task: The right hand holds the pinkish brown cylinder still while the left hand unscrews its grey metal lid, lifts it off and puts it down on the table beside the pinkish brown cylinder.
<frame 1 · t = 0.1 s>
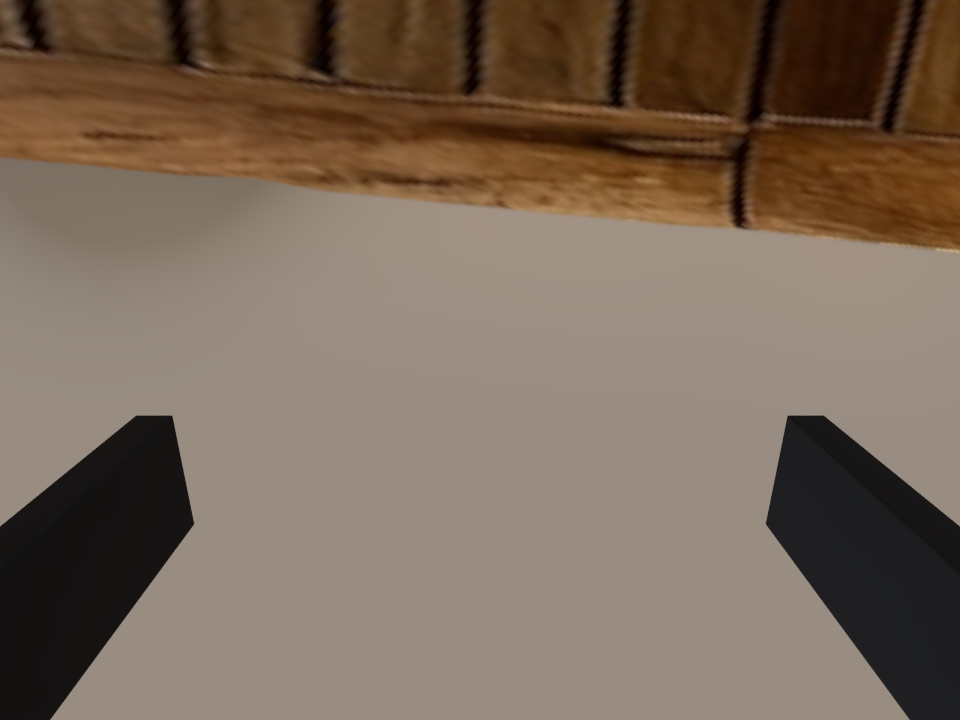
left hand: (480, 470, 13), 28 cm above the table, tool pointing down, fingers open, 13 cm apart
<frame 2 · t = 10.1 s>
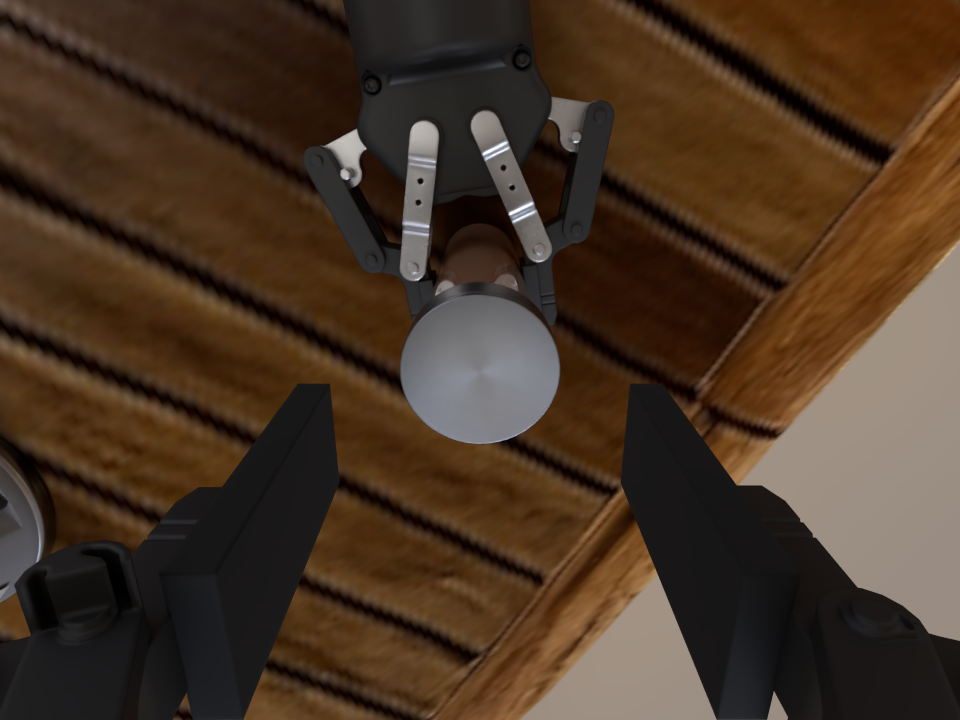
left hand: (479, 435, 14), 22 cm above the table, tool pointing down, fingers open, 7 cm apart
right hand: (488, 339, 30), fingers closed on pinkish brown cylinder, 4 cm apart
pinkish brown cylinder: (480, 259, 35), on the table, touching right hand
lid: (480, 368, 19), point 17 cm above the table, screwed on, not yet turned
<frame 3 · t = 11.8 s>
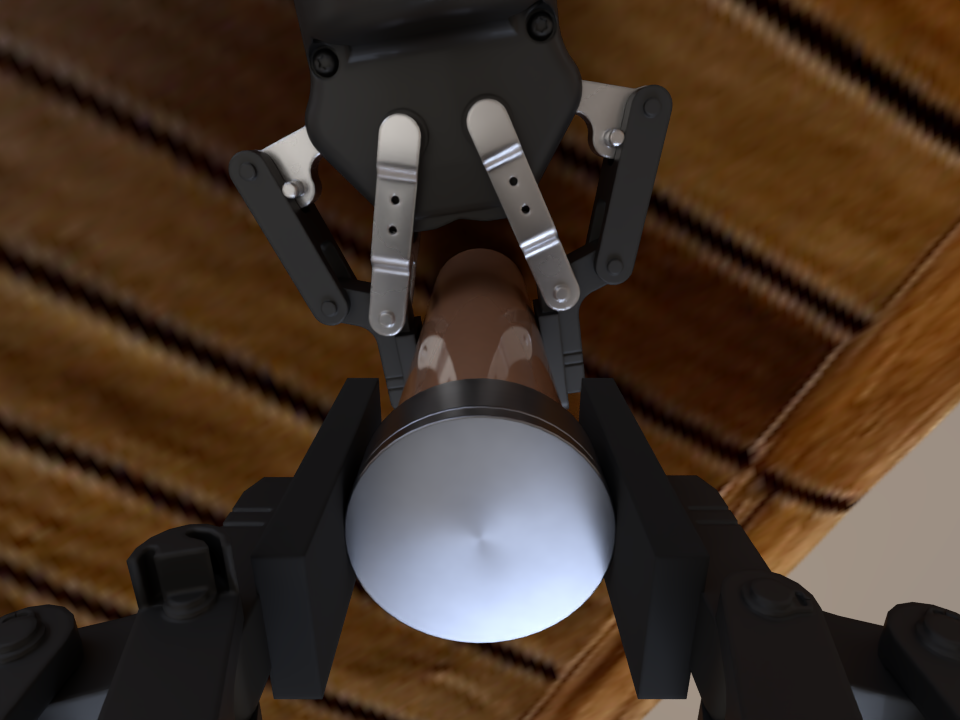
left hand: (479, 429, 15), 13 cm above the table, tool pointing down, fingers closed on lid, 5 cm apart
right hand: (491, 408, 22), fingers closed on pinkish brown cylinder, 4 cm apart
pinkish brown cylinder: (479, 294, 27), on the table, touching right hand
lid: (480, 527, 11), point 17 cm above the table, screwed on, not yet turned, touching left hand
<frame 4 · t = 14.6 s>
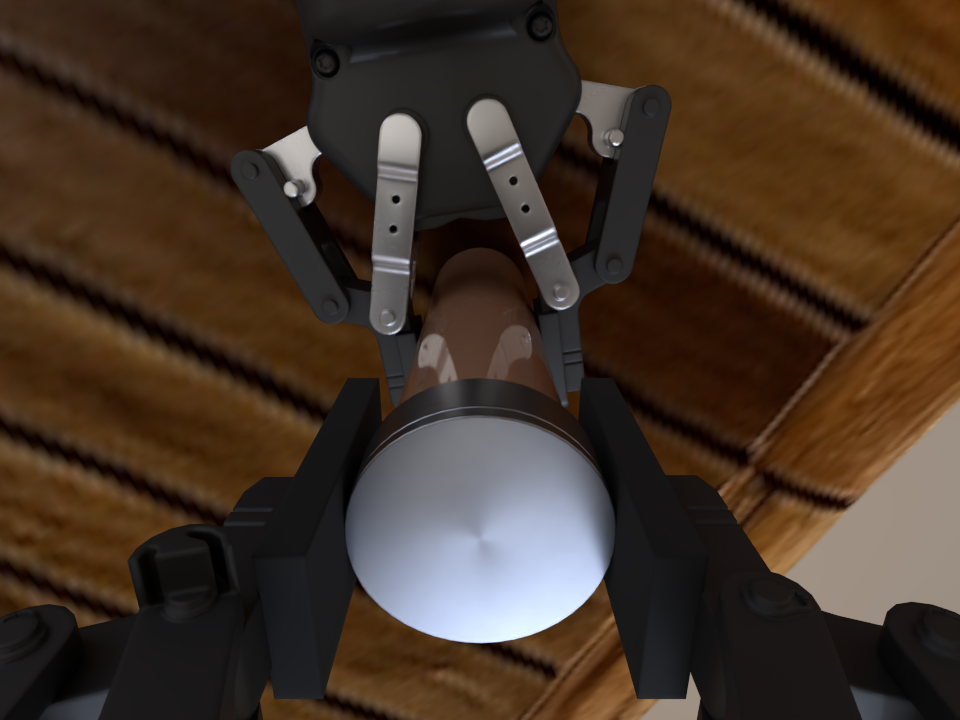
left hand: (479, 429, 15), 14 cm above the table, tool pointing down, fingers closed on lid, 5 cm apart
right hand: (491, 406, 22), fingers closed on pinkish brown cylinder, 4 cm apart
pinkish brown cylinder: (480, 293, 28), on the table, touching right hand
lid: (480, 527, 11), point 18 cm above the table, turned 77° so far, risen 0.1 cm, still on its thread, touching left hand
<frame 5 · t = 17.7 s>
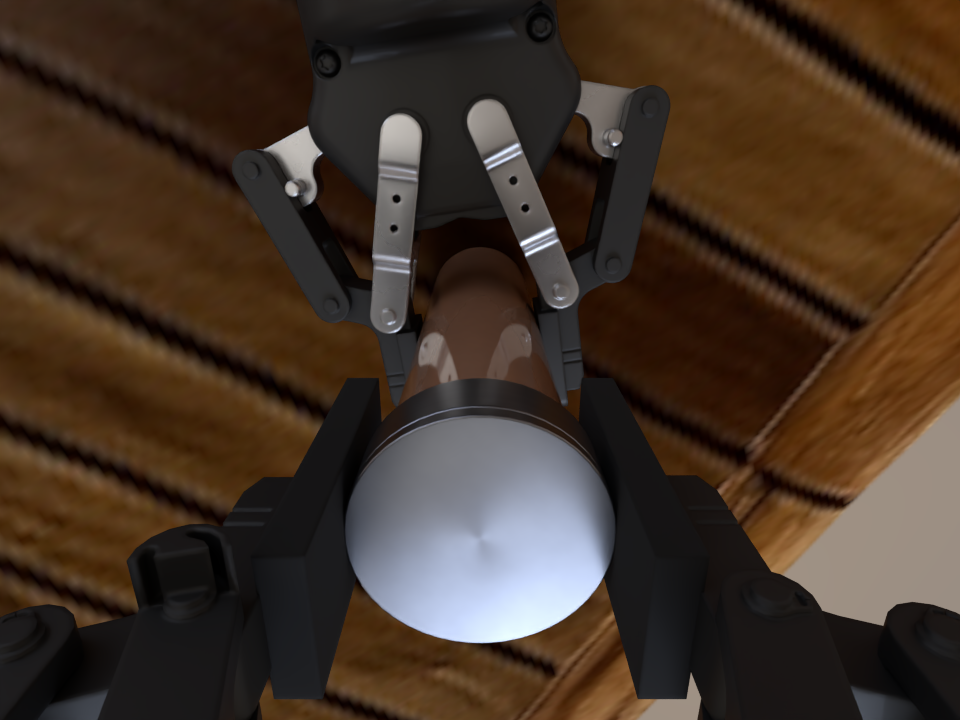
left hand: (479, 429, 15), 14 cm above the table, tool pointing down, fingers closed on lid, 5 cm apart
right hand: (491, 405, 22), fingers closed on pinkish brown cylinder, 4 cm apart
pinkish brown cylinder: (480, 292, 28), on the table, touching right hand
lid: (480, 527, 11), point 18 cm above the table, turned 155° so far, risen 0.3 cm, still on its thread, touching left hand
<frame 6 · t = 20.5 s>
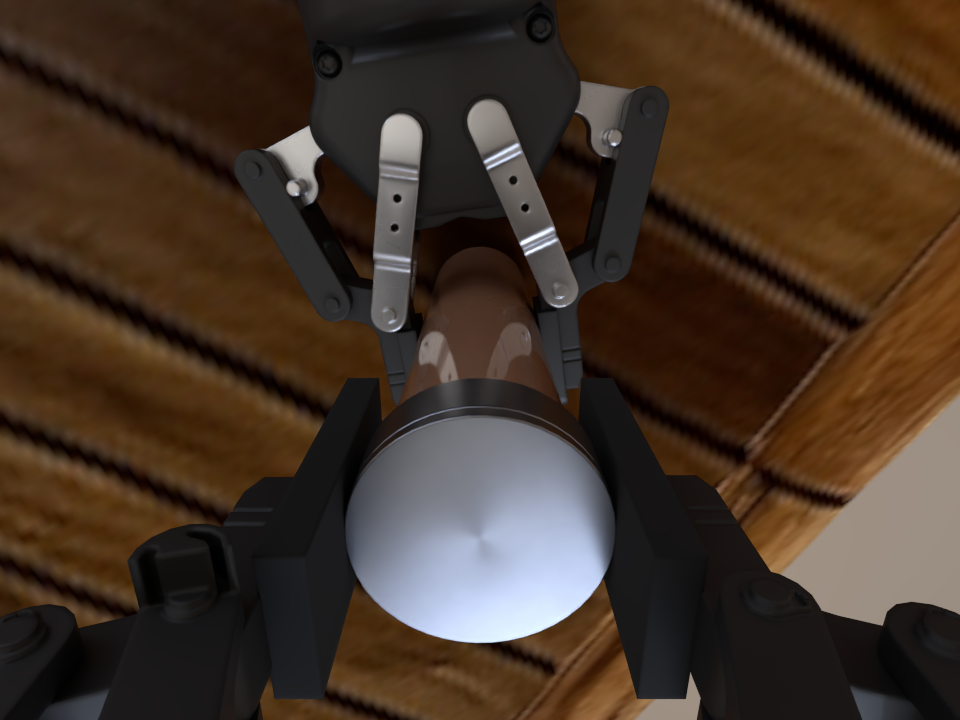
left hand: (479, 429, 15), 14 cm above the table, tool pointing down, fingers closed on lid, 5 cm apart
right hand: (491, 403, 23), fingers closed on pinkish brown cylinder, 4 cm apart
pinkish brown cylinder: (480, 291, 28), on the table, touching right hand
lid: (480, 527, 11), point 18 cm above the table, turned 232° so far, risen 0.4 cm, still on its thread, touching left hand
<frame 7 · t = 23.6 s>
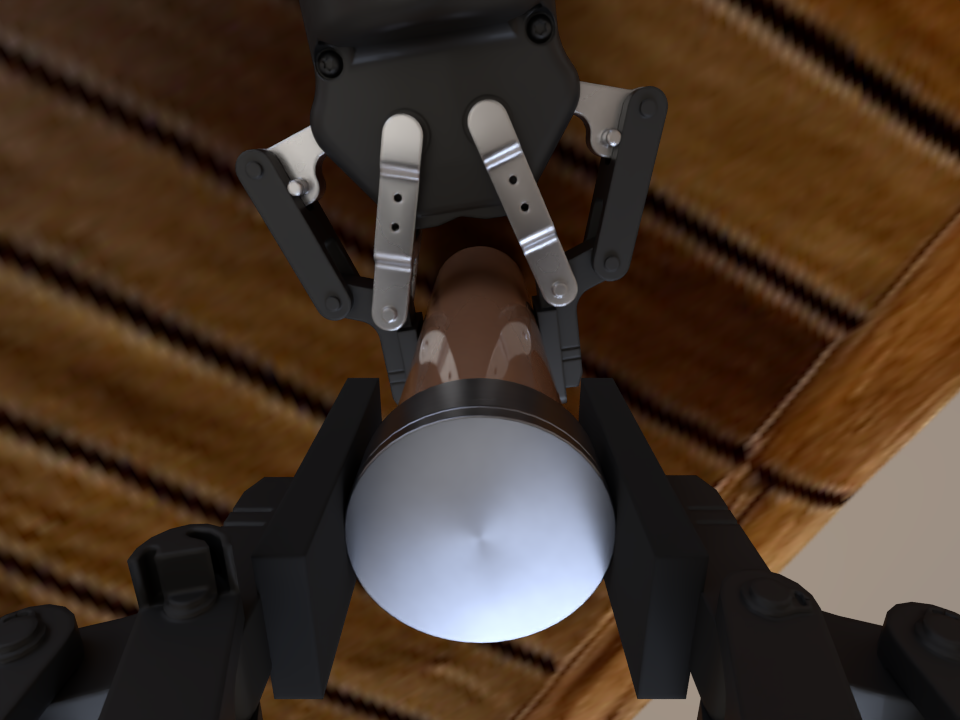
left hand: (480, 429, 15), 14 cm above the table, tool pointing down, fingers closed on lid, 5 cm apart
right hand: (491, 402, 23), fingers closed on pinkish brown cylinder, 4 cm apart
pinkish brown cylinder: (480, 291, 28), on the table, touching right hand
lid: (480, 527, 11), point 18 cm above the table, turned 309° so far, risen 0.5 cm, still on its thread, touching left hand
when the left hand's fingers open (0 cm above the table, at t = 30.1 s): lid drops 3 cm, point 1 cm above the table.
when the right hand's fingers open (7 cm above the table, at t = 30.7 s): pinkish brown cylinder stays where it is, on the table.
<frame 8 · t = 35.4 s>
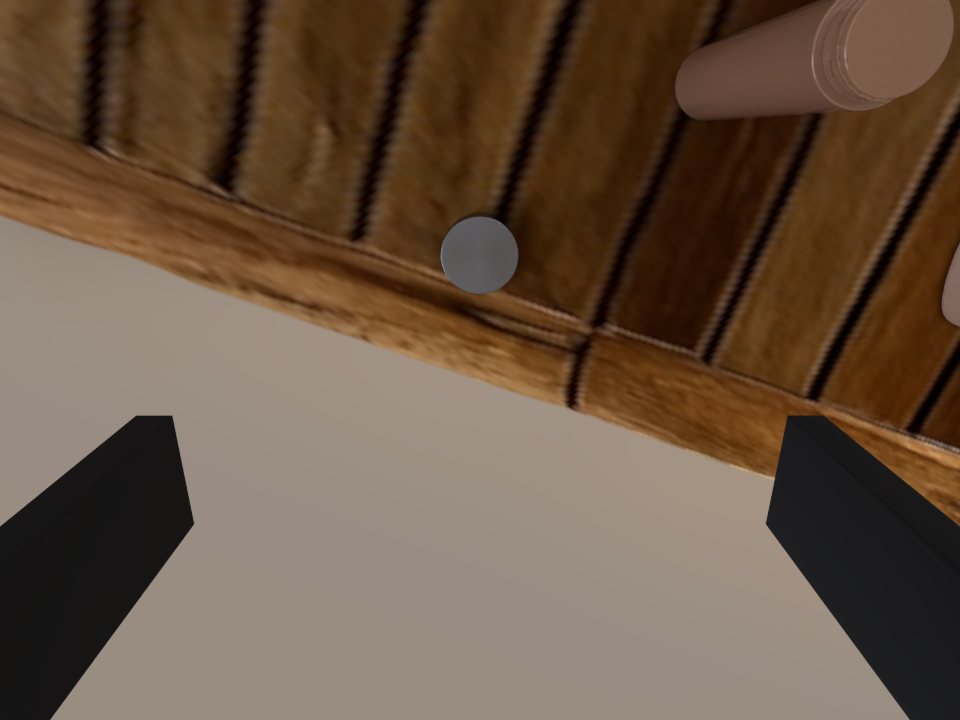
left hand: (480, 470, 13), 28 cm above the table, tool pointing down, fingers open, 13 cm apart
pinkish brown cylinder: (710, 83, 36), on the table
lid: (479, 255, 38), point 1 cm above the table, off its thread
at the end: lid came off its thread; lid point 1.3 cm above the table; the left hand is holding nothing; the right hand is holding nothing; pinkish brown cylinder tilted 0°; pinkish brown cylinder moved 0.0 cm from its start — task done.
